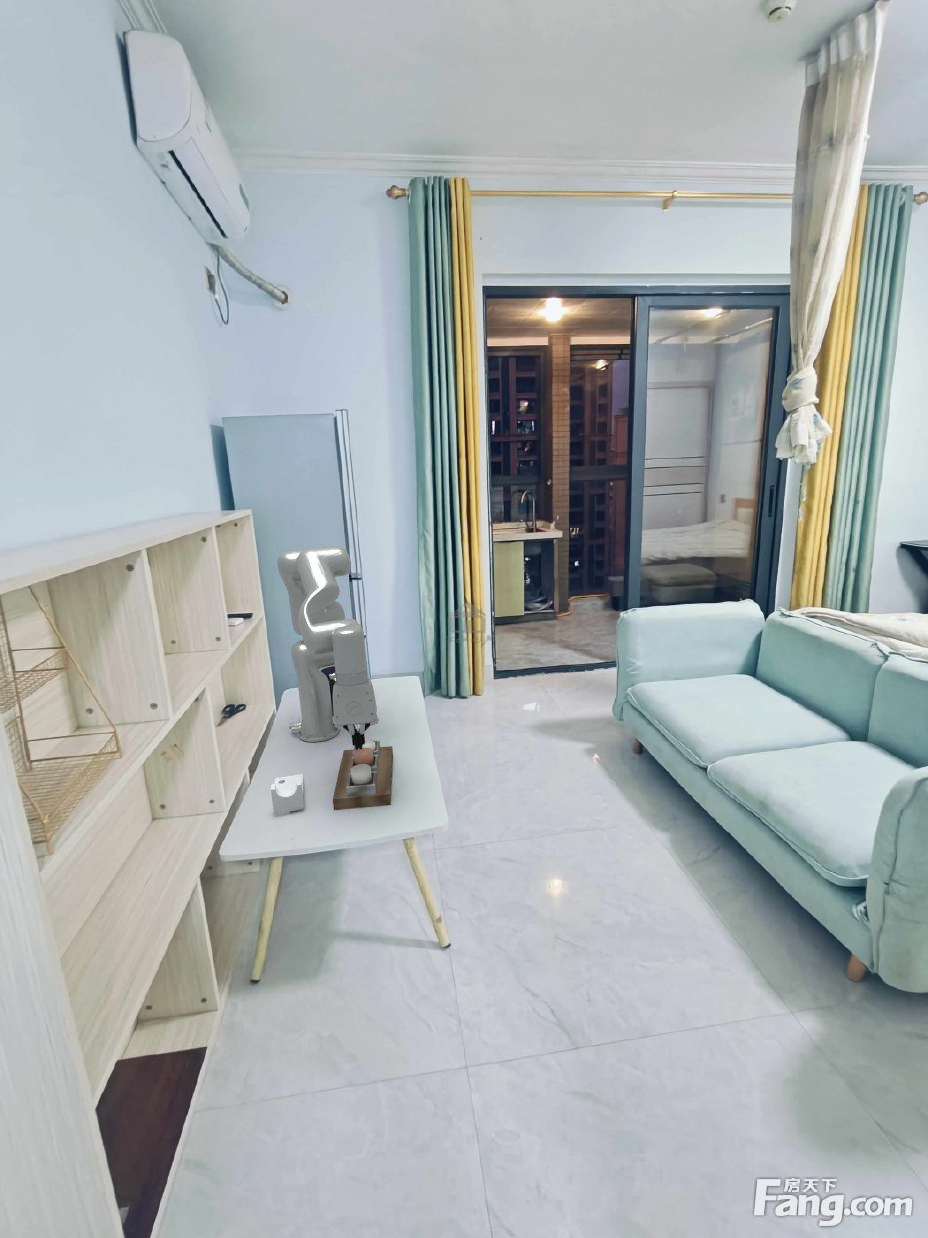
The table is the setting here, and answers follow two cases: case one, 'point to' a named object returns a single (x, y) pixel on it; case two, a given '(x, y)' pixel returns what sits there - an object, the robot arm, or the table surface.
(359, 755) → the middle button
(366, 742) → the far button
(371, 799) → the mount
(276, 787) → the bracket
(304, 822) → the table surface
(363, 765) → the near button
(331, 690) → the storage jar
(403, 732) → the table surface
